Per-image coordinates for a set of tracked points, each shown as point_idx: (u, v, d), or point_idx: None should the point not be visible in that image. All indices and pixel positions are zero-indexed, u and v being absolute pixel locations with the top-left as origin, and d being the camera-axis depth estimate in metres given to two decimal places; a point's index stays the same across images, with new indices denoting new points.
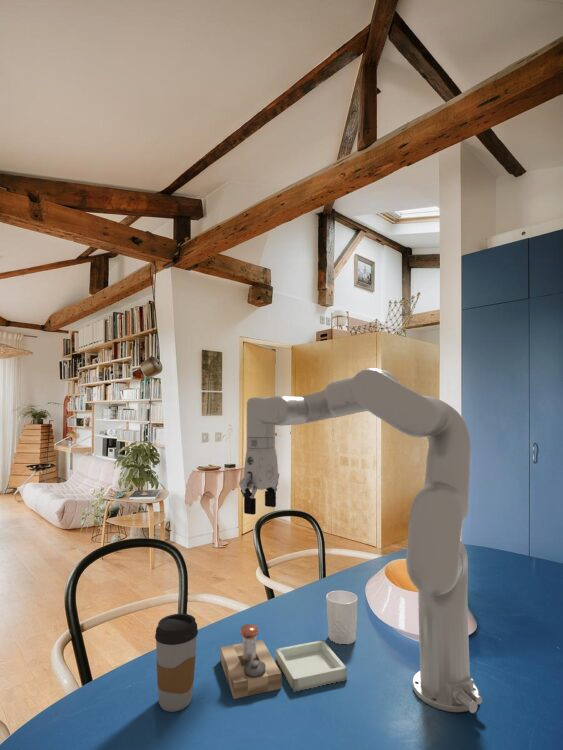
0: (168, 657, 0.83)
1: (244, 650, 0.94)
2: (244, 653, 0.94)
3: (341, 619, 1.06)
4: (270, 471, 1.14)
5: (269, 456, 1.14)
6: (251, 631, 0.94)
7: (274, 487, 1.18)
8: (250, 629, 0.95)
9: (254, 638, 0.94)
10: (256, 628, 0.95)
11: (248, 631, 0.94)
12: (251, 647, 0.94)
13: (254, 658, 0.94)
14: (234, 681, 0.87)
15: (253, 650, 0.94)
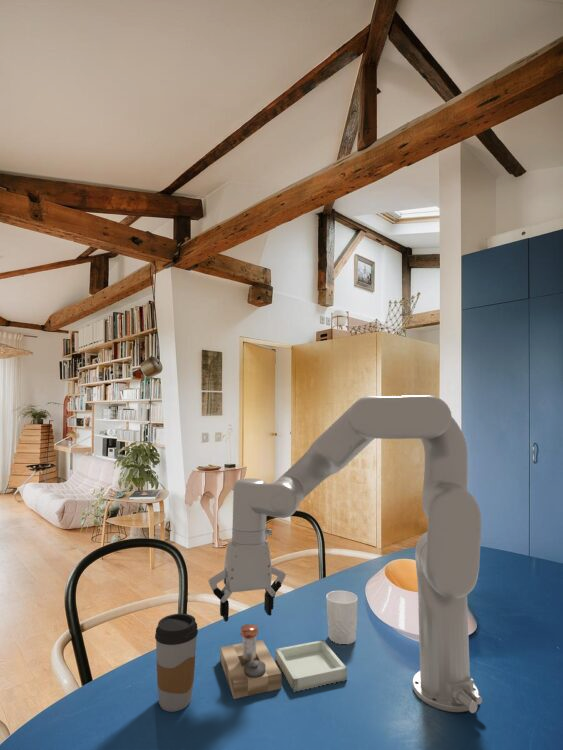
0: (168, 657, 0.83)
1: (244, 650, 0.94)
2: (244, 653, 0.94)
3: (341, 619, 1.06)
4: None
5: None
6: (251, 631, 0.94)
7: None
8: (250, 629, 0.95)
9: (254, 638, 0.94)
10: (256, 628, 0.95)
11: (248, 631, 0.94)
12: (251, 647, 0.94)
13: (254, 658, 0.94)
14: (234, 681, 0.87)
15: (253, 650, 0.94)
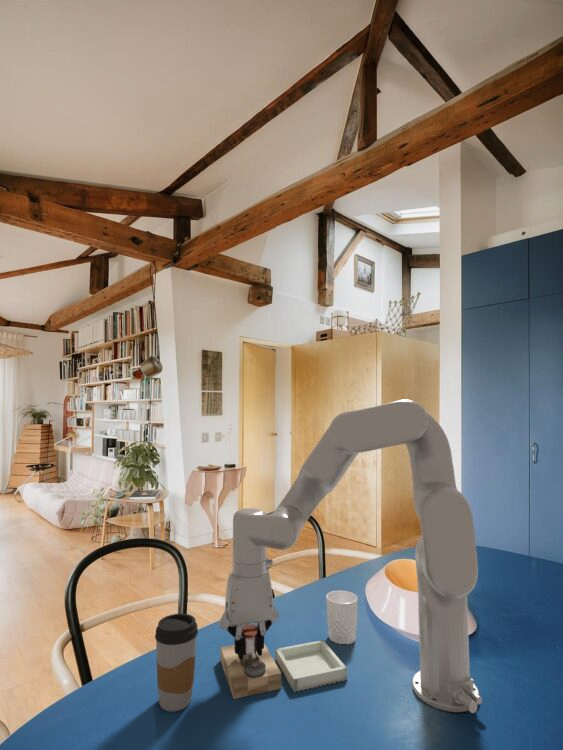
0: (168, 657, 0.83)
1: (244, 650, 0.94)
2: (244, 653, 0.94)
3: (341, 619, 1.06)
4: None
5: None
6: (251, 631, 0.94)
7: None
8: (250, 629, 0.95)
9: (254, 638, 0.94)
10: (256, 628, 0.95)
11: (248, 631, 0.94)
12: (251, 647, 0.94)
13: (254, 658, 0.94)
14: (234, 681, 0.87)
15: (253, 650, 0.94)
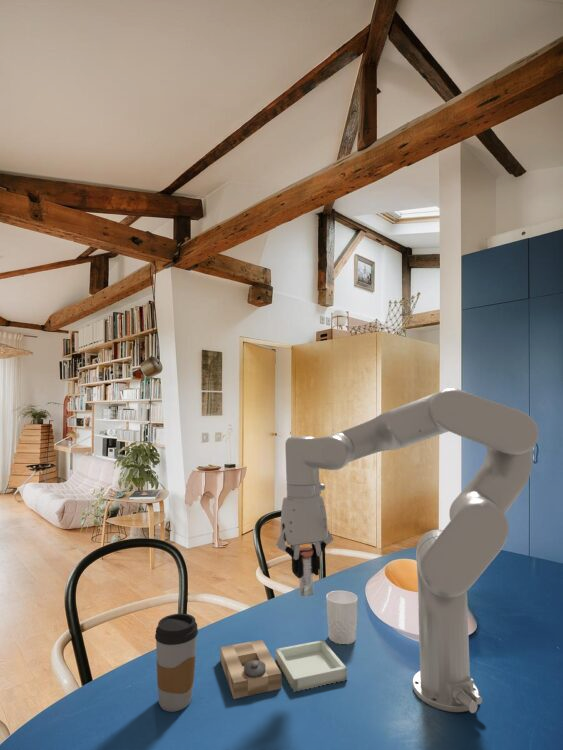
0: (168, 657, 0.83)
1: None
2: (302, 573, 0.96)
3: (341, 619, 1.06)
4: None
5: None
6: (308, 551, 0.96)
7: None
8: (306, 550, 0.97)
9: (310, 558, 0.97)
10: (312, 549, 0.98)
11: (305, 551, 0.96)
12: (308, 567, 0.96)
13: (311, 577, 0.96)
14: (234, 681, 0.87)
15: (310, 569, 0.96)
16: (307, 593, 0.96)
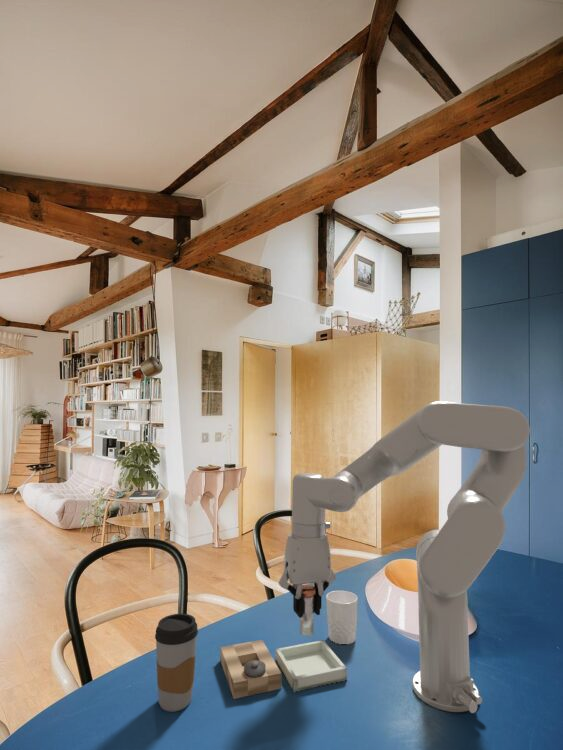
0: (168, 657, 0.83)
1: (303, 609, 0.96)
2: (303, 612, 0.96)
3: (341, 619, 1.06)
4: None
5: None
6: (310, 590, 0.96)
7: None
8: (308, 589, 0.97)
9: (312, 598, 0.96)
10: (314, 588, 0.97)
11: (307, 590, 0.96)
12: (309, 606, 0.96)
13: (312, 617, 0.96)
14: (234, 681, 0.87)
15: (311, 609, 0.96)
16: (307, 632, 0.95)
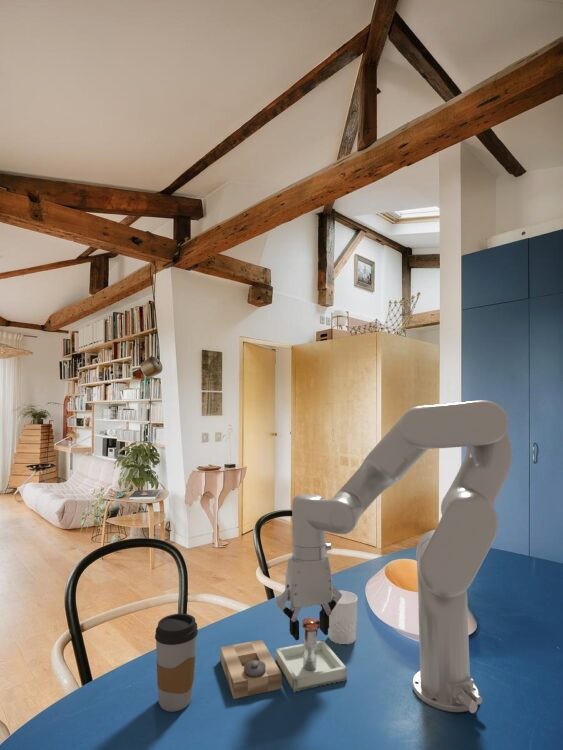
0: (168, 657, 0.83)
1: (306, 643, 0.95)
2: (306, 646, 0.95)
3: (341, 619, 1.06)
4: None
5: None
6: (313, 624, 0.96)
7: None
8: (312, 622, 0.96)
9: (315, 631, 0.96)
10: (317, 622, 0.97)
11: (310, 624, 0.96)
12: (313, 640, 0.95)
13: (315, 651, 0.95)
14: (234, 681, 0.87)
15: (315, 643, 0.95)
16: (310, 667, 0.95)
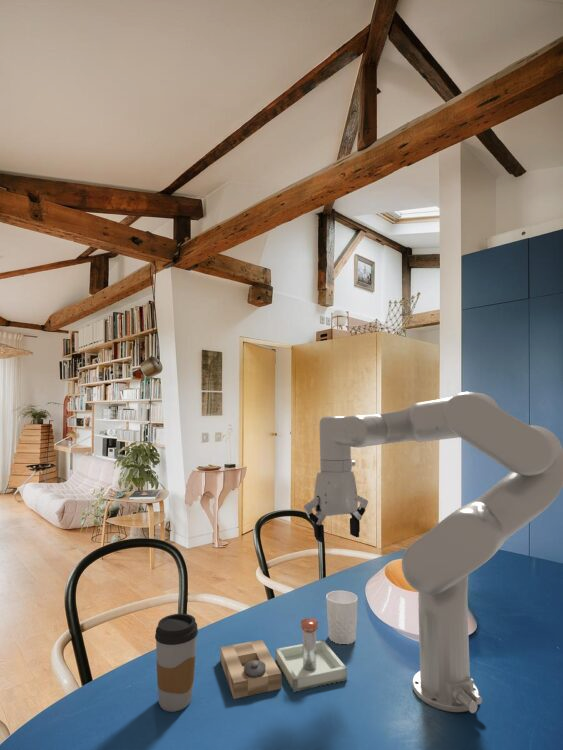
0: (168, 657, 0.83)
1: (305, 644, 0.95)
2: (305, 647, 0.95)
3: (341, 619, 1.06)
4: None
5: None
6: (312, 625, 0.95)
7: None
8: (310, 623, 0.96)
9: (314, 632, 0.96)
10: (316, 622, 0.97)
11: (309, 625, 0.95)
12: (312, 641, 0.95)
13: (315, 651, 0.95)
14: (234, 681, 0.87)
15: (314, 644, 0.95)
16: (310, 668, 0.95)
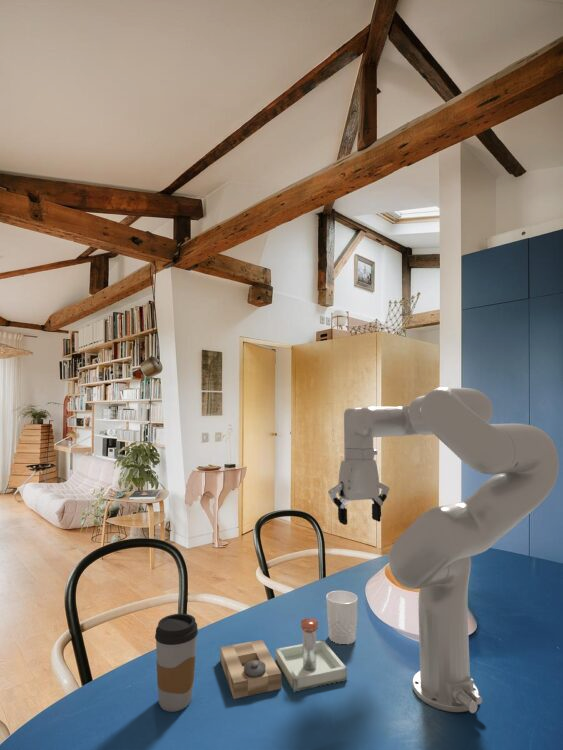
0: (168, 657, 0.83)
1: (305, 644, 0.95)
2: (305, 647, 0.95)
3: (341, 619, 1.06)
4: None
5: None
6: (312, 625, 0.95)
7: None
8: (310, 623, 0.96)
9: (314, 632, 0.96)
10: (316, 622, 0.97)
11: (309, 625, 0.95)
12: (312, 641, 0.95)
13: (315, 651, 0.95)
14: (234, 681, 0.87)
15: (314, 644, 0.95)
16: (310, 668, 0.95)
